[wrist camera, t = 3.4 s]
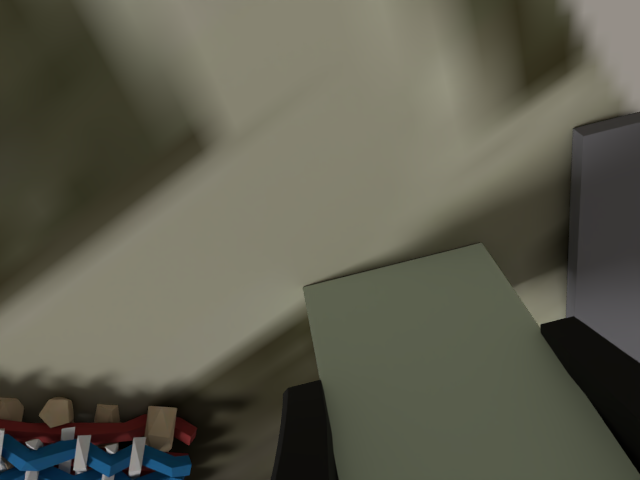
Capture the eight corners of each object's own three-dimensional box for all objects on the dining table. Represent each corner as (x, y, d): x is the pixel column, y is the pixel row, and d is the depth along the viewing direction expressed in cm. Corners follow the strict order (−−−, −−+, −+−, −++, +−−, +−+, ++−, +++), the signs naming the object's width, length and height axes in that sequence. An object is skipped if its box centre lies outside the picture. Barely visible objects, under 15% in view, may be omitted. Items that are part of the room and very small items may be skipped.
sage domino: (302, 287, 13) (388, 748, 6) (481, 242, 13) (763, 654, 6) (317, 340, 14) (406, 793, 7) (485, 298, 14) (733, 711, 7)
